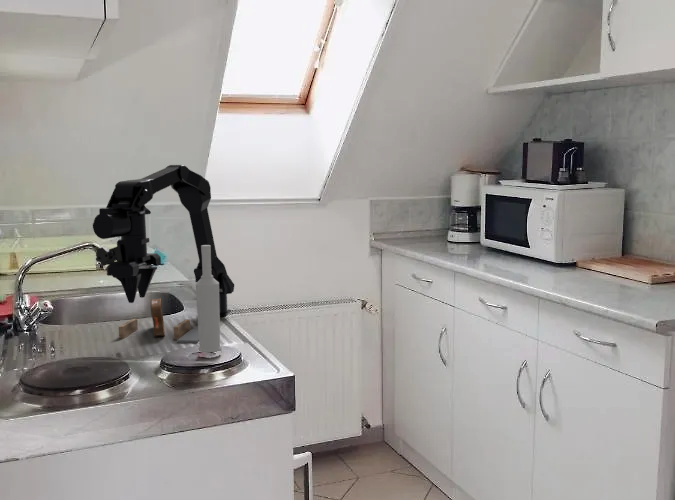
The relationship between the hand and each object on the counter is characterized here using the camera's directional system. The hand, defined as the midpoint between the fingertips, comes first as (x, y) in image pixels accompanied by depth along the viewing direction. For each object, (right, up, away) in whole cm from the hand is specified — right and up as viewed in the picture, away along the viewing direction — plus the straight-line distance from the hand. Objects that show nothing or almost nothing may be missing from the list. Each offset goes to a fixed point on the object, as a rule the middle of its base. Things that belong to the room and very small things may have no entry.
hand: (136, 300), depth 166 cm
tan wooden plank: (+1, -10, +12) cm, 16 cm away
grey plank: (+12, -10, +11) cm, 19 cm away
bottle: (+19, -12, -9) cm, 24 cm away
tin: (+1, -10, +14) cm, 17 cm away
